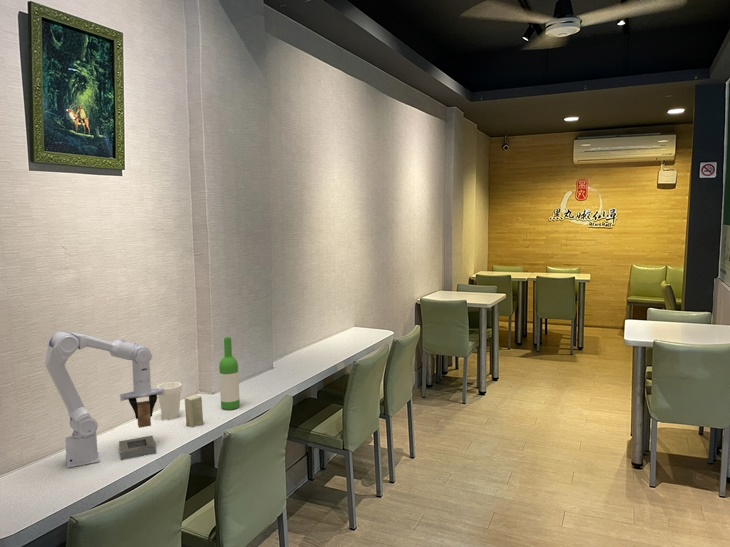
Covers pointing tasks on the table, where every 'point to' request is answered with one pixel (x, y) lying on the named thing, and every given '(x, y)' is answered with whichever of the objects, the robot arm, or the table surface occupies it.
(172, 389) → the foam cup
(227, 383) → the wine bottle
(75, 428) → the robot arm
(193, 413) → the box
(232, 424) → the table surface
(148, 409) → the peg
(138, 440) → the collar
